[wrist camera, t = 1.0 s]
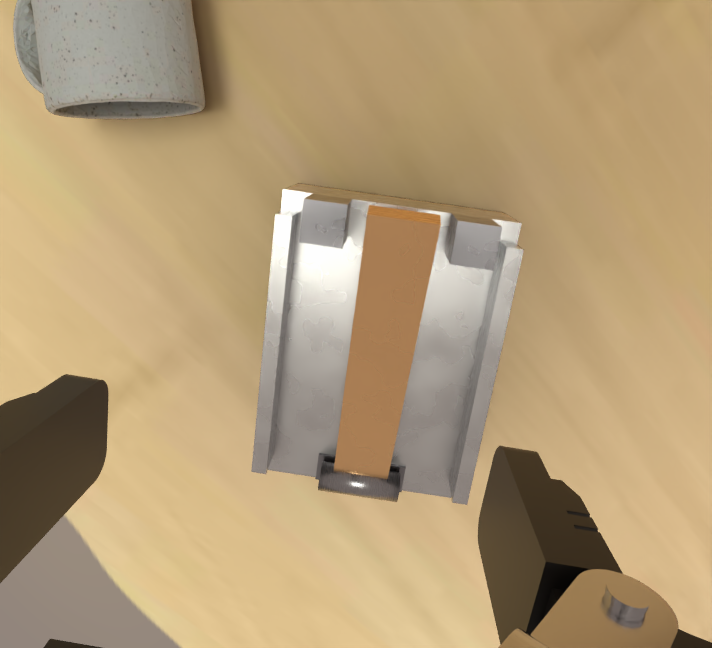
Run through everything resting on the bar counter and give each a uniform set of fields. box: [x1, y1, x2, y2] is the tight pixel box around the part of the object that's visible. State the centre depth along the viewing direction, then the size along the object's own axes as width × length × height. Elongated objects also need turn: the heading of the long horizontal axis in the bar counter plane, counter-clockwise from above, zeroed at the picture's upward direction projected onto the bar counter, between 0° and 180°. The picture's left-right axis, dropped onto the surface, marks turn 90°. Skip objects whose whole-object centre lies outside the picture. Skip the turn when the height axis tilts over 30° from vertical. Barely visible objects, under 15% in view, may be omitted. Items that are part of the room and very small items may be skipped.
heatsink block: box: [252, 183, 524, 505], centre depth 32 cm, size 16×12×8 cm
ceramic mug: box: [13, 0, 205, 119], centre depth 29 cm, size 11×8×8 cm
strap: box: [318, 205, 441, 502], centre depth 28 cm, size 17×4×2 cm, turn 172°
